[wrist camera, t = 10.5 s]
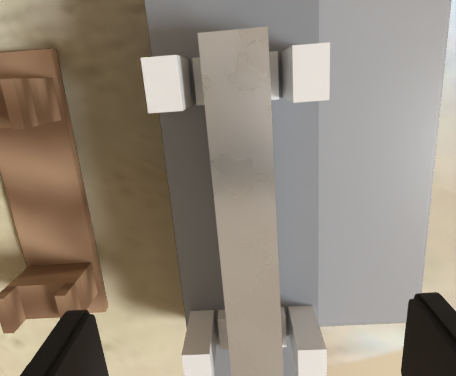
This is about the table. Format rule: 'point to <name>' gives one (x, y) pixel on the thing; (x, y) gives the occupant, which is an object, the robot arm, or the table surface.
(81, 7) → the table surface
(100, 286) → the bar stand
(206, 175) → the equipment case
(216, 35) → the bar
